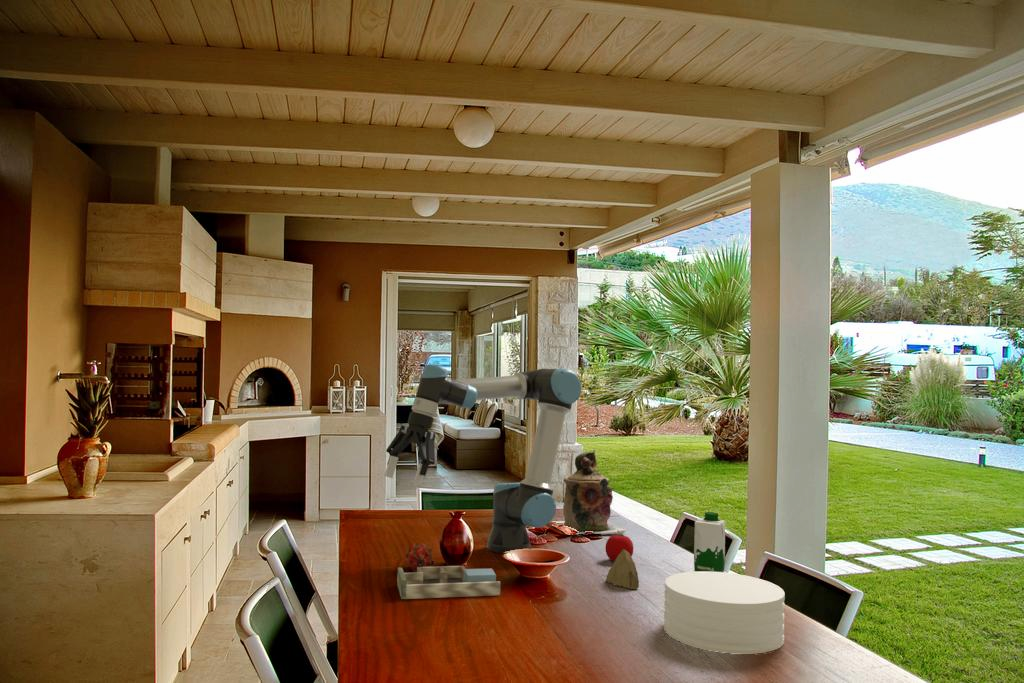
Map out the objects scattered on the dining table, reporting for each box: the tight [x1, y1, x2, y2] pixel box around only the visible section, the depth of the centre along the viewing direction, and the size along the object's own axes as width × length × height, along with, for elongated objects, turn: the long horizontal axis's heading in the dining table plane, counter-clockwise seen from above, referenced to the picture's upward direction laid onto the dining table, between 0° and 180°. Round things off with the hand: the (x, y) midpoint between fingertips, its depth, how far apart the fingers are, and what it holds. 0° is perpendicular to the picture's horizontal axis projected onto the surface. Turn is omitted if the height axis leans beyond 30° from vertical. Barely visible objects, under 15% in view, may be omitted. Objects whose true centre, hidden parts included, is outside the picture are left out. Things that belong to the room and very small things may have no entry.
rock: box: [604, 549, 640, 590], centre depth 223 cm, size 11×9×10 cm
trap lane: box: [396, 565, 501, 600], centre depth 216 cm, size 27×19×5 cm
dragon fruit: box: [405, 542, 435, 572], centre depth 235 cm, size 8×8×12 cm
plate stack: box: [663, 571, 786, 654], centre depth 184 cm, size 28×28×12 cm
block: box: [464, 568, 497, 582], centre depth 215 cm, size 8×7×5 cm
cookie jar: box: [552, 449, 627, 536], centre depth 303 cm, size 25×25×32 cm
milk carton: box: [693, 511, 726, 572], centre depth 232 cm, size 9×9×20 cm
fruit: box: [605, 531, 634, 562], centre depth 253 cm, size 9×9×10 cm
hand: (402, 481), depth 230 cm, fingers open, 13 cm apart
